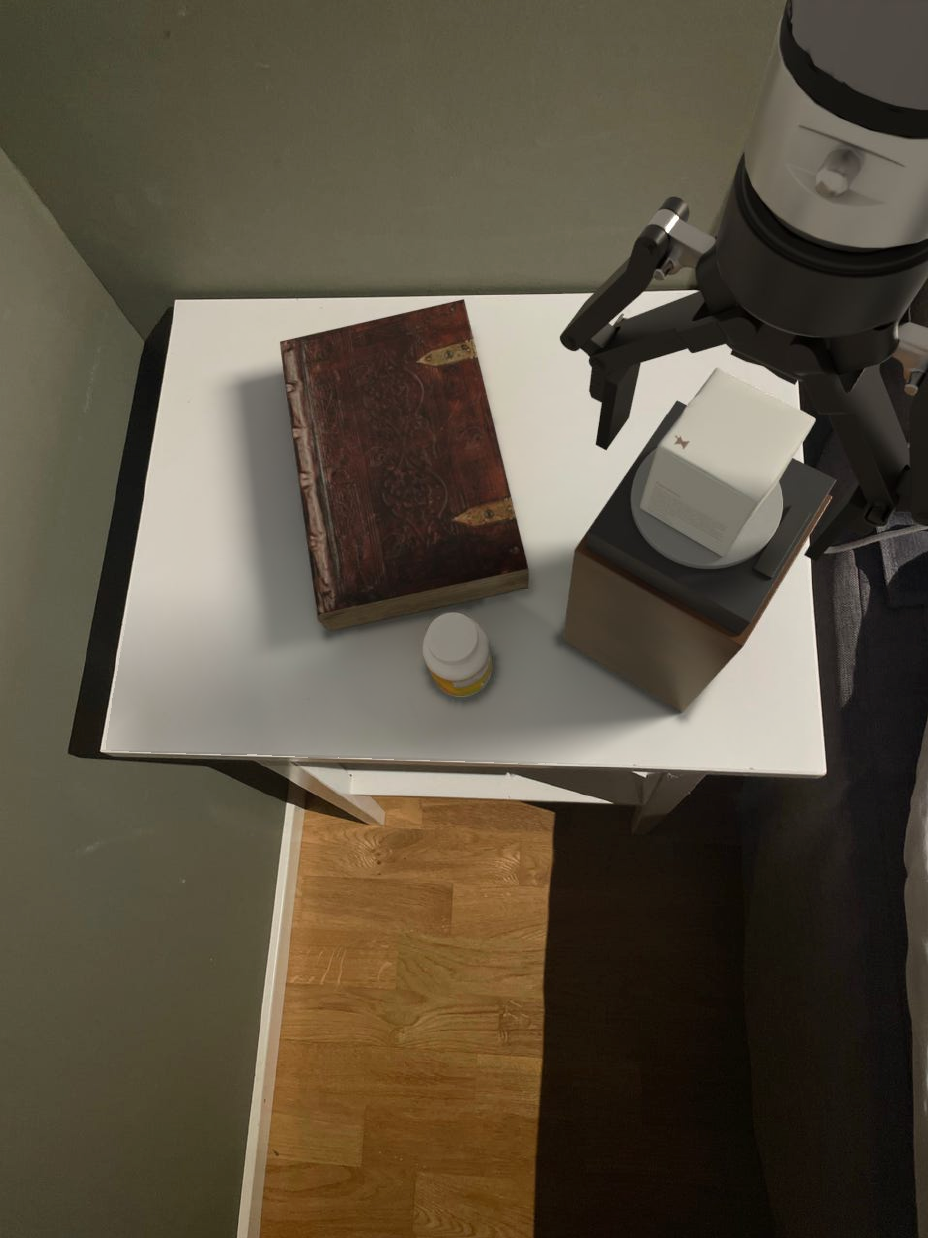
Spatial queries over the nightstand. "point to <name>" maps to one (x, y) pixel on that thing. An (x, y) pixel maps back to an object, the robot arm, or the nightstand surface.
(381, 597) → the hardback book
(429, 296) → the nightstand surface
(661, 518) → the product box
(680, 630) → the riser
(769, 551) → the scale
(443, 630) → the supplement bottle
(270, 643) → the nightstand surface
